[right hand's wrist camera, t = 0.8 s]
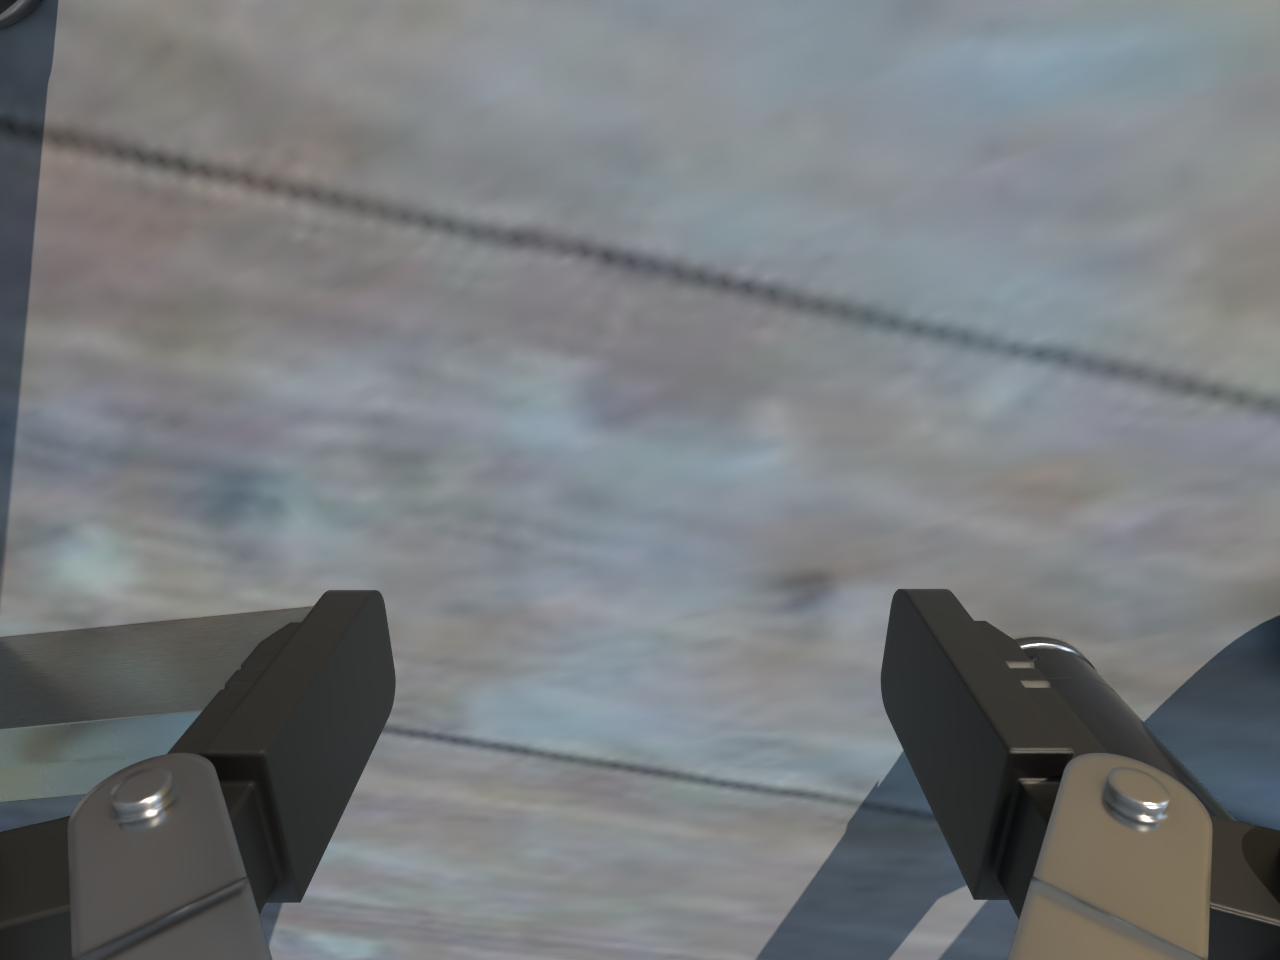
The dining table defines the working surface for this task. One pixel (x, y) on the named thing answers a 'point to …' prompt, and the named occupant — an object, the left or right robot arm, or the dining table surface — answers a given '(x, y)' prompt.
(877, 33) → the dining table surface
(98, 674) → the bar
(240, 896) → the right robot arm
